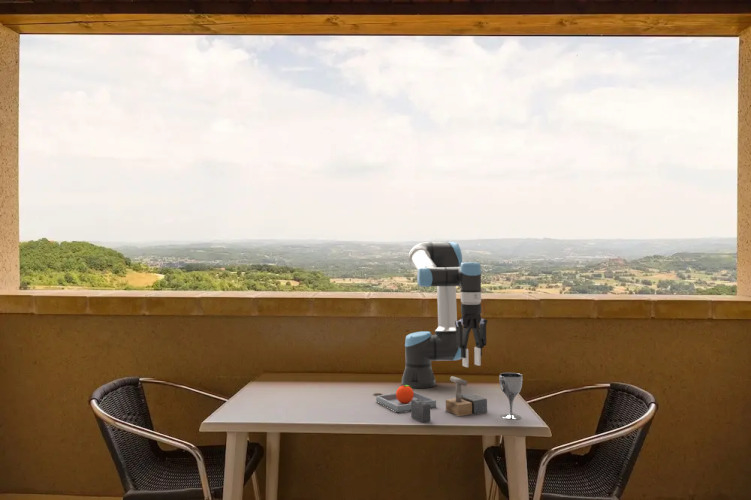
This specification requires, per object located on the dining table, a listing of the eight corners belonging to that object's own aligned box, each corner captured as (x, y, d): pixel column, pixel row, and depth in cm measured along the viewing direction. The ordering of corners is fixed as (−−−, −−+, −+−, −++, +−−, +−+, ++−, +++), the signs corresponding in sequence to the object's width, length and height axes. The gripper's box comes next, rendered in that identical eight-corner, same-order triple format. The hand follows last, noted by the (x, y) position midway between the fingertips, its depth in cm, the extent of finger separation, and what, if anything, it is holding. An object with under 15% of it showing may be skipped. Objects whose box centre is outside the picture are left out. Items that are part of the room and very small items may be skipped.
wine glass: (496, 413, 198) (496, 372, 198) (518, 413, 199) (517, 372, 199) (503, 420, 190) (503, 377, 191) (526, 419, 191) (525, 376, 191)
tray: (376, 402, 215) (376, 396, 215) (413, 397, 223) (412, 390, 223) (397, 413, 200) (397, 406, 200) (436, 407, 208) (436, 400, 208)
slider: (445, 410, 202) (445, 377, 202) (459, 408, 205) (458, 375, 205) (458, 416, 195) (458, 381, 195) (472, 413, 198) (471, 379, 198)
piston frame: (410, 416, 196) (410, 399, 196) (472, 406, 208) (471, 390, 208) (424, 423, 188) (423, 405, 188) (487, 412, 200) (487, 396, 200)
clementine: (406, 399, 217) (405, 381, 217) (419, 402, 212) (419, 384, 212) (392, 403, 211) (392, 385, 211) (405, 406, 206) (405, 388, 206)
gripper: (457, 305, 196) (457, 370, 195) (496, 303, 204) (497, 365, 204) (445, 303, 202) (445, 366, 202) (483, 301, 211) (484, 361, 210)
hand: (471, 365), depth 203 cm, fingers open, 5 cm apart
